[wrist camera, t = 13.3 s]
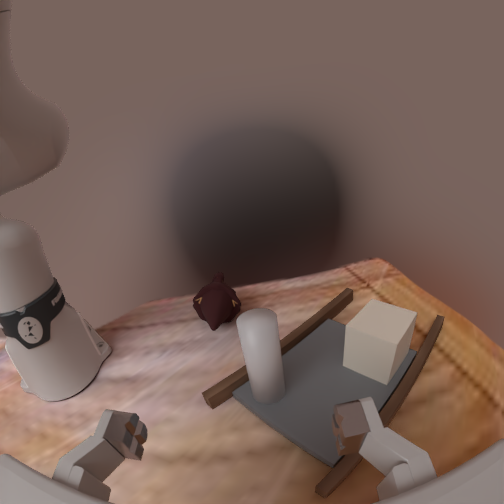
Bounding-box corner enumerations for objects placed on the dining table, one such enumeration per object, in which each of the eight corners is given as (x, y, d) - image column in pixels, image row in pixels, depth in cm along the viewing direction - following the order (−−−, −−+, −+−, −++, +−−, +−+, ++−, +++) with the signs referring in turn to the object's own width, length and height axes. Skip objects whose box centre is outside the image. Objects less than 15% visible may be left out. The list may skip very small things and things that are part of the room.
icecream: (244, 307, 34) (241, 269, 48) (185, 302, 33) (199, 265, 48) (239, 351, 36) (238, 304, 50) (186, 347, 35) (198, 300, 50)
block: (342, 365, 28) (345, 325, 26) (367, 337, 32) (371, 298, 29) (386, 385, 24) (397, 344, 22) (408, 352, 27) (417, 312, 25)
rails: (206, 403, 27) (201, 393, 26) (346, 298, 43) (346, 287, 42) (325, 498, 14) (327, 493, 14) (441, 328, 30) (444, 316, 30)
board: (233, 397, 27) (211, 321, 24) (328, 324, 37) (327, 253, 34) (333, 468, 17) (347, 402, 13) (415, 357, 27) (432, 279, 23)
